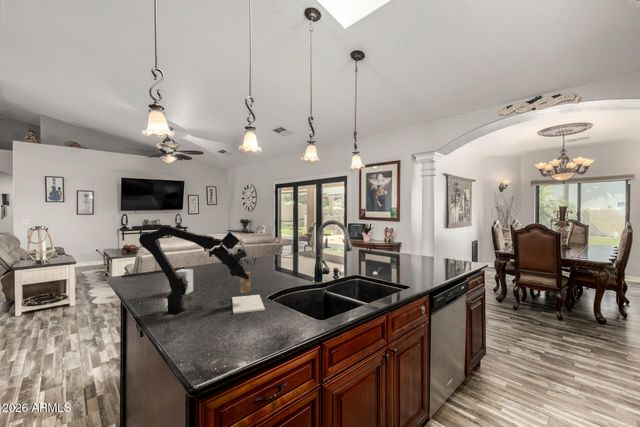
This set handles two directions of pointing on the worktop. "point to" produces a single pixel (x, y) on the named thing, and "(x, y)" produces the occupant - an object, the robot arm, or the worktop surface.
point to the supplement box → (187, 278)
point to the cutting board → (247, 304)
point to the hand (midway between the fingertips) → (248, 277)
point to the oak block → (245, 284)
